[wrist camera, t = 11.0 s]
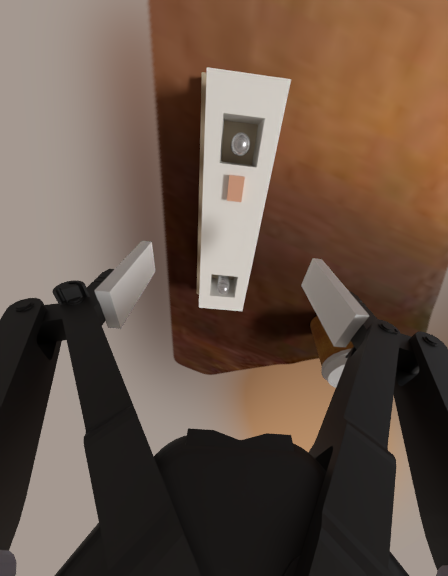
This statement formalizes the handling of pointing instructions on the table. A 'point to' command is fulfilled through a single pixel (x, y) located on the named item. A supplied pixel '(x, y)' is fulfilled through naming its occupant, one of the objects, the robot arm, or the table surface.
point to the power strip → (236, 180)
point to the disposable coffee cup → (329, 353)
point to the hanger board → (227, 156)
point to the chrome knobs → (239, 148)
